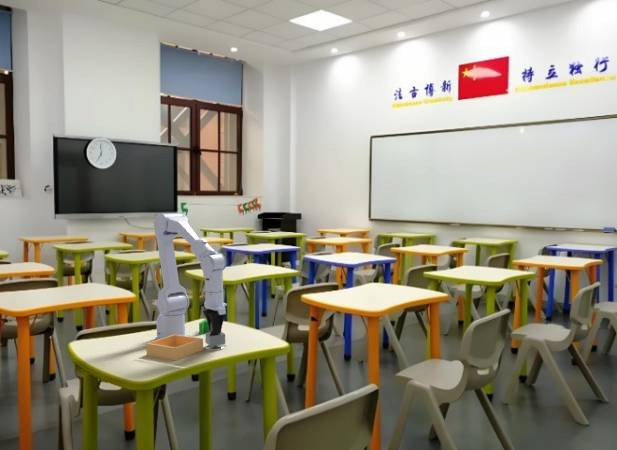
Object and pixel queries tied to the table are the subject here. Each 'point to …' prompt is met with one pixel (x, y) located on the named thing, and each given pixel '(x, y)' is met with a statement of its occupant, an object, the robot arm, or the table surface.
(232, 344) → the table surface
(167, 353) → the bin
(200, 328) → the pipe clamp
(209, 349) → the stud plate
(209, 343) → the grey stepped block
